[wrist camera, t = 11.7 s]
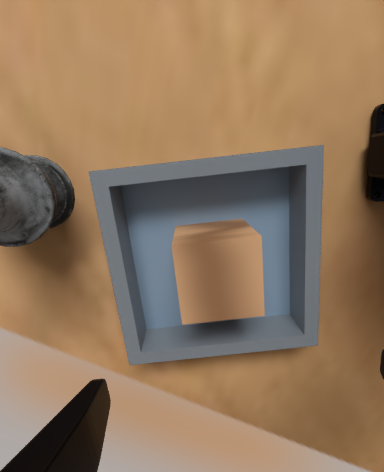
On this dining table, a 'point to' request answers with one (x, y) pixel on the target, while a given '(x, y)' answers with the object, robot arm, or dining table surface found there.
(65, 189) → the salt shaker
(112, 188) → the low wall corral
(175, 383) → the dining table surface
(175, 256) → the light brown block
